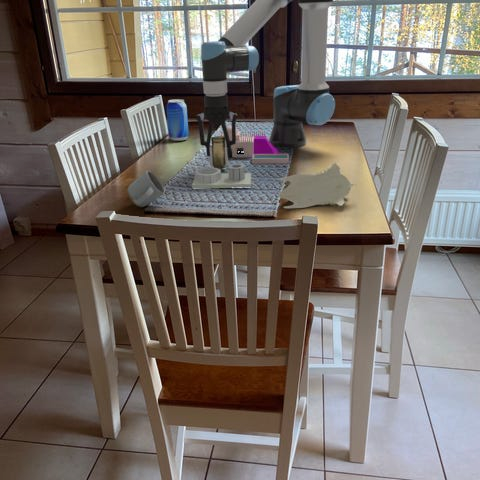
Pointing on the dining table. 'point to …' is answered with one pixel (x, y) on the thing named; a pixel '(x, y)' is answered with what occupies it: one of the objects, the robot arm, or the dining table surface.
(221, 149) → the cylinder
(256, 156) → the model house
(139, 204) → the ceramic mug
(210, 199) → the dining table surface
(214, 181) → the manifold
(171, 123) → the beer can
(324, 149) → the dining table surface
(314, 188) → the beige lumpy piece
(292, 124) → the robot arm
